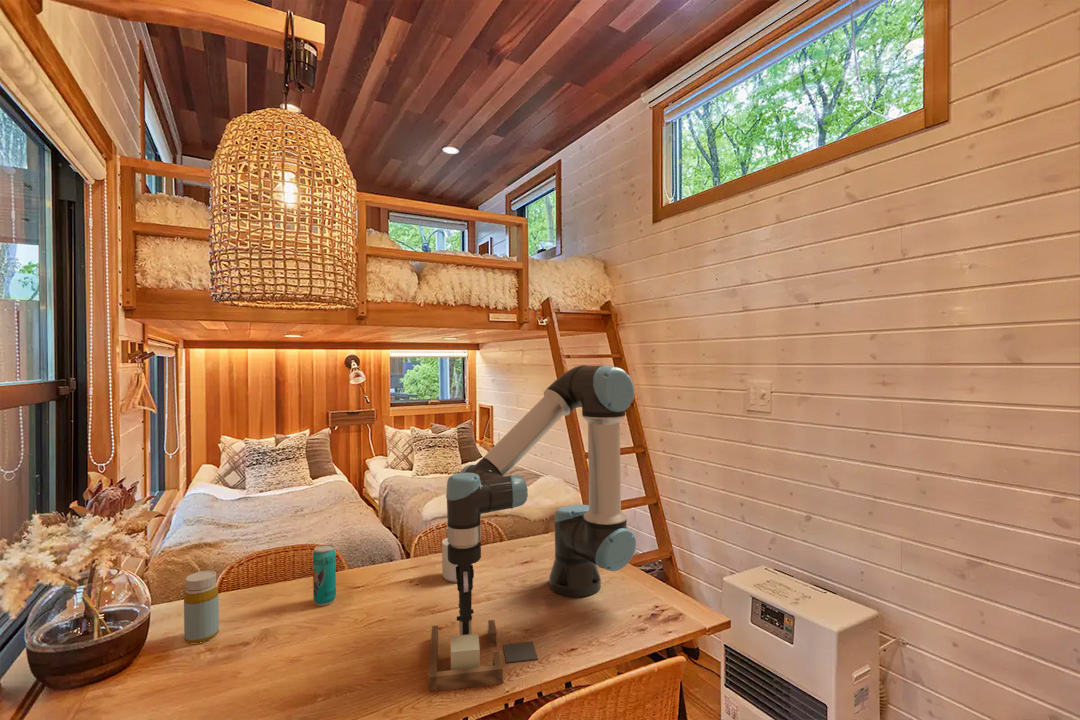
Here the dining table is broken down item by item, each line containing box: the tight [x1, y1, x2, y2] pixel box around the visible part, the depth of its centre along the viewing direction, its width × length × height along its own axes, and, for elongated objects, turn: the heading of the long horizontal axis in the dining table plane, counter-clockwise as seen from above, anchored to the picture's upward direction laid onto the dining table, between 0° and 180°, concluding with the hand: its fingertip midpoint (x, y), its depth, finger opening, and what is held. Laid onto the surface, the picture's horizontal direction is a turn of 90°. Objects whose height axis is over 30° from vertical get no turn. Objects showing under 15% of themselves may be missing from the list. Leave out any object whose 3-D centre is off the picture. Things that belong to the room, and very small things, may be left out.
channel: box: [428, 619, 504, 693], centre depth 116 cm, size 15×20×3 cm
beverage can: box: [312, 544, 337, 607], centre depth 142 cm, size 6×6×15 cm
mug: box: [441, 537, 473, 583], centre depth 160 cm, size 12×9×11 cm
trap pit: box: [502, 640, 539, 664], centre depth 118 cm, size 7×7×1 cm
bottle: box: [183, 570, 220, 644], centre depth 125 cm, size 7×7×15 cm
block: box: [450, 633, 481, 670], centre depth 112 cm, size 6×6×6 cm
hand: (465, 645), depth 118 cm, fingers closed
